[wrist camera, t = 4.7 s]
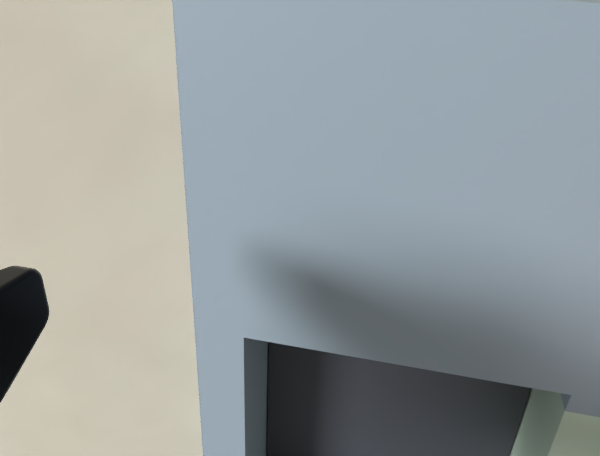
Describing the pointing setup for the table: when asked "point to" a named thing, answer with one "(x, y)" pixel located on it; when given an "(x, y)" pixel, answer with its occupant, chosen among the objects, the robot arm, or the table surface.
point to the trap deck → (393, 225)
